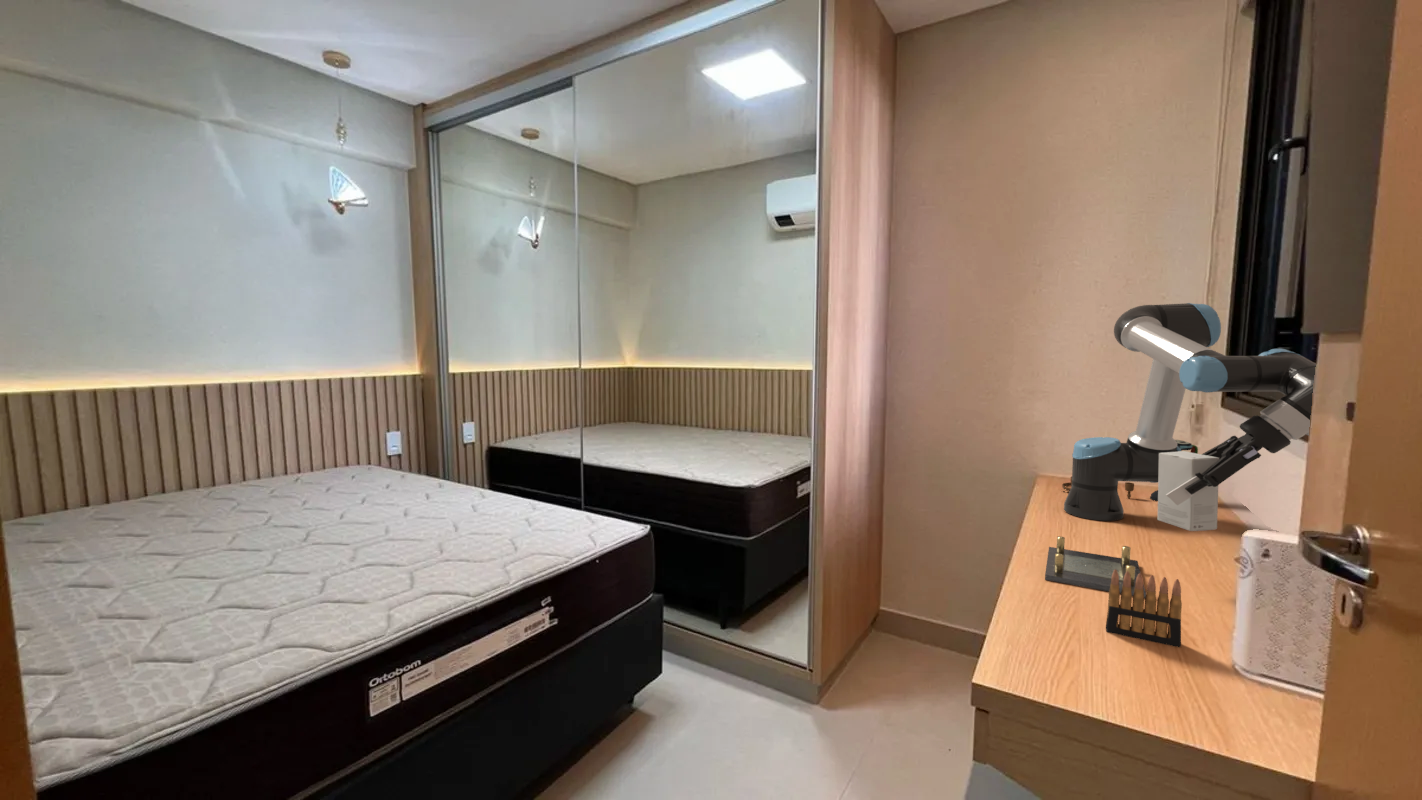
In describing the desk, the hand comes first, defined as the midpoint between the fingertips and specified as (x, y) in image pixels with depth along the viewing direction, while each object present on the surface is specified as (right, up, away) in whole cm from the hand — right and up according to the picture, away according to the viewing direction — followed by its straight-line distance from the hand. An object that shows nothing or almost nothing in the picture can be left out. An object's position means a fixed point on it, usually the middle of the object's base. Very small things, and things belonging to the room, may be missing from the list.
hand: (1168, 493), depth 121 cm
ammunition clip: (-22, -23, -20) cm, 38 cm away
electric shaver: (+52, -13, +62) cm, 82 cm away
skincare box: (+3, -7, -1) cm, 7 cm away
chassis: (-12, -20, +7) cm, 24 cm away
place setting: (+33, -13, +73) cm, 81 cm away
